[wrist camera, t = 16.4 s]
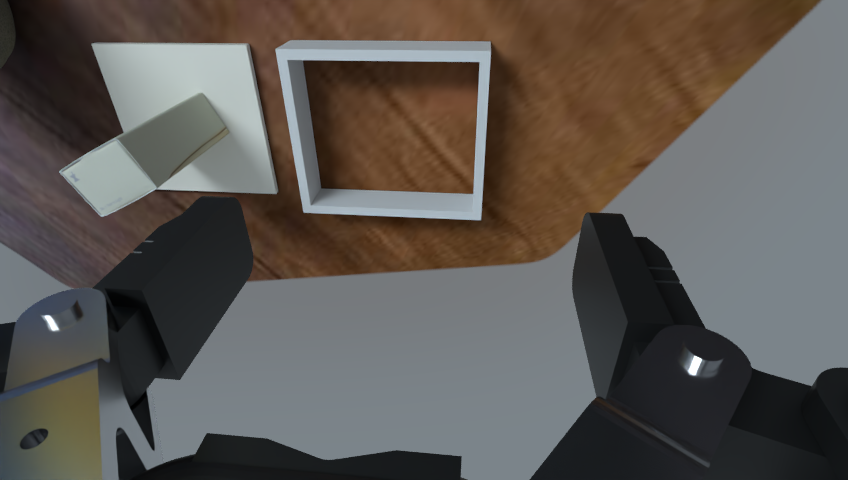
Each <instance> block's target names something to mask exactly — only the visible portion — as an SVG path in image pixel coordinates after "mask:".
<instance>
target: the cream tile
mask: <svg viewBox="0 0 848 480" xmlns="http://www.w3.org/2000/svg"><path fill="white" fill-rule="evenodd" d="M91 45H92V48H93V50H94V53H95V56H96V58H97V61H98V64H99V67H100V69H101V72H102V75H103V78H104V80H105V83H106V86H107V88H108V91H109V94H110V97H111V99H112V102H113V105H114V108H115V110H116V113H117V116H118V118H119V121H120V124H121V127H122V129H123V132H124V133H125V132H127V131H128V130H130V129H132V128H134V127H136V126H138V125H140V124H142V123H143V122H145V121H147V120H149V119H151V118H153V117H154V116H156V115H158V114H160V113H162V112H164V111H166V110H167V109H169V108H171V107H173V106H175V105H177V104H179V103H181V102H183V101H184V100H186V99H188V98H190V97H192V96H194V95H195V94H197V93H202V94H203V95H204V96H205V98H206V99H207V100H208V102H209V103H210V105H211V106H212V107H213V109H214V110H215V112H216V113H217V115H218V116H219V117H220V119H221V120H222V122H223V123H224V125H225V126H226V128H227V129H228V130H229V134H227V135H226V136H225V137H224V138H222V139H221V140H220V141H219V142H217V143H216V144H215V145H213V146H212V147H211V148H210V149H208V150H207V151H206V152H204V153H203V154H202V155H200V156H199V157H198V158H196V159H195V160H194V161H192V162H191V163H190V164H189V165H187V166H186V167H185V168H183V169H182V170H181V171H179V172H178V173H177V174H175V175H174V176H173V177H171V178H170V179H169V180H167V181H166V182H165V183H163V184H162V185H161V186H160V187H158V188H157V189H161V190H186V191H212V192H237V193H262V194H277V192H278V187H277V182H276V177H275V172H274V167H273V162H272V157H271V152H270V146H269V141H268V136H267V131H266V126H265V121H264V116H263V111H262V106H261V101H260V96H259V91H258V86H257V81H256V76H255V71H254V66H253V61H252V56H251V51H250V46H249V44H232V43H102V42H96V43H92V44H91Z"/></svg>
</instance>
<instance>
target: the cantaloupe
mask: <svg viewBox="0 0 848 480" xmlns="http://www.w3.org/2000/svg"><path fill="white" fill-rule="evenodd" d="M15 38H16V32H15V25H14V19H13V15H12V12H11V9H10V6H9V3H8V1H7V0H0V69H1V68H2V67H3V65H4V64H5V63H6V61H7V59H8V57H9V56H10V55H11V53H12V51H13V49H14V46H15Z"/></svg>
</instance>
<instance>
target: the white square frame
mask: <svg viewBox="0 0 848 480" xmlns="http://www.w3.org/2000/svg"><path fill="white" fill-rule="evenodd" d="M276 55H277V61H278V67H279V73H280V79H281V84H282V90H283V96H284V102H285V108H286V113H287V119H288V125H289V131H290V137H291V142H292V148H293V154H294V160H295V166H296V172H297V177H298V183H299V189H300V195H301V201H302V206H303V212H304V213H323V214H346V215H369V216H393V217H416V218H439V219H462V220H481V213H482V196H483V179H484V162H485V145H486V127H487V110H488V93H489V76H490V59H491V42H484V41H340V40H290V41H288V42H287V43H285V44H283V45H282V46H280V47H278V48H276ZM303 60H337V61H427V62H480V64H479V86H478V107H477V128H476V150H475V171H474V192H473V194H454V193H428V192H402V191H375V190H349V189H322V188H321V183H320V176H319V169H318V162H317V155H316V148H315V141H314V134H313V127H312V120H311V113H310V106H309V99H308V93H307V86H306V79H305V72H304V65H303Z"/></svg>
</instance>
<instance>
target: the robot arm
mask: <svg viewBox="0 0 848 480" xmlns="http://www.w3.org/2000/svg"><path fill="white" fill-rule="evenodd" d="M133 251H134V252H133V253H130V254H129V255H128V256H127V257H126V258H125V259H124V260H122V261H121V262H120V263H119V264H118V265H117V266H116V267H115V268H114V269H113V270H112V271H111V272H109V273H108V274H107V275H106V276H105V277H104V278H103V279H102V280H101V281H100V282H99V283H97V284H96V285H95V286H94V287H93V288H76V289H70V290H66V291H62V292H59V293H56V294H53V295H51V296H48V297H46V298H44V299H42V300H40V301H39V302H37V303H35V304H34V305H32V306H31V307H29V308H28V309H27V310H26V311H25V312H23V313H22V314H21V316H20V317H19V318H18V320H17V321H16V322H12V323H5V324H0V480H467V479H464V478H461V477H460V476H461V456H452V455H440V454H430V453H419V452H408V451H397V450H396V451H389V452H383V453H376V454H369V455H362V456H356V457H349V458H343V459H335V460H323V459H320V458H317V457H314V456H312V455H309V454H306V453H303V452H301V451H298V450H296V449H293V448H290V447H288V446H285V445H282V444H280V443H277V442H274V441H272V440H269V439H265V438H254V437H243V436H232V435H221V434H210V433H207V434H206V436H205V438H204V439H203V441H202V443H201V445H200V447H199V448H198V450H197V452H196V454H194V455H189V456H185V457H181V458H178V459H174V460H171V461H169V462H166V463H164V462H163V457H162V450H161V443H160V437H159V431H158V425H157V418H156V413H155V406H154V399H153V396H152V393H151V391H150V389H149V385H150V384H151V383H152V381H153V380H154V379H155V378H164V379H175V380H180V379H181V377H182V376H183V374H184V373H185V371H186V370H187V369H188V367H189V366H190V364H191V363H192V361H193V359H194V358H195V357H196V355H197V354H198V352H199V351H200V349H201V347H202V346H203V345H204V343H205V342H206V340H207V339H208V337H209V336H210V334H211V333H212V331H213V330H214V329H215V327H216V325H217V324H218V323H219V321H220V320H221V318H222V317H223V315H224V314H225V312H226V311H227V309H228V308H229V306H230V305H231V303H232V302H233V300H234V299H235V297H236V296H237V294H238V293H239V291H240V290H241V289H242V287H243V286H244V284H245V283H246V281H247V280H248V278H249V276H250V274H251V271H252V267H253V252H252V248H251V244H250V240H249V236H248V232H247V228H246V224H245V220H244V216H243V212H242V208H241V205H240V203H239V201H238V200H237V199H236V198H234V197H213V196H202V197H200V198H199V199H197V200H196V201H195V202H194V203H193V204H192V205H191V206H190V207H189V208H188V209H187V210H186V211H185V212H184V213H183V214H182V215H180V216H178V217H176V218H174V219H172V220H171V221H169V222H167V223H165V224H163V225H161V226H159V227H158V228H157V229H156V230H155V231H154V232H153V233H152V234H151V235H150V236H149V237H147V238H146V239H145V242H142V243H141V244H140V245H139V246H138V247H137V248H135V249H134V250H133ZM572 279H573V281H572V290H573V298H574V302H575V306H576V311H577V315H578V319H579V323H580V328H581V332H582V336H583V341H584V345H585V349H586V353H587V358H588V362H589V366H590V371H591V375H592V379H593V383H594V388H595V392H596V398H595V399H594V400H593V401H592V402H591V403H590V404H589V405H588V407H587V408H586V409H585V410H584V412H583V413H582V414H581V415H580V417H579V418H578V419H577V420H576V422H575V423H574V424H573V426H572V427H571V428H570V429H569V431H568V432H567V433H566V435H565V436H564V437H563V438H562V440H561V441H560V442H559V443H558V445H557V446H556V447H555V448H554V450H553V451H552V452H551V453H550V455H549V456H548V457H547V459H546V460H545V461H544V462H543V464H542V465H541V466H540V467H539V469H538V470H537V471H536V472H535V474H534V475H533V476H532V477H531V479H530V480H848V368H832V369H828V370H826V371H824V372H822V373H821V374H820V375H819V376H818V377H817V379H816V381H815V382H814V384H813V386H809V385H805V384H802V383H798V382H795V381H791V380H788V379H784V378H781V377H777V376H774V375H770V374H767V373H764V372H761V371H758V370H756V369H753V368H752V367H751V363H750V361H749V359H748V358H747V356H746V355H745V354H744V352H743V351H742V350H741V349H740V348H739V347H738V346H737V345H735V344H734V343H733V342H732V341H730V340H729V339H727V338H725V337H724V336H722V335H720V334H718V333H716V332H713V331H711V330H708V329H706V328H705V326H704V324H703V323H702V321H701V319H700V317H699V315H698V313H697V311H696V310H695V308H694V306H693V304H692V302H691V300H690V299H689V297H688V295H687V293H686V291H685V289H684V287H683V286H682V284H680V283H679V281H680V280H679V279H678V276H677V275H676V273H675V271H674V270H672V265H671V264H670V262H669V260H668V258H667V256H666V254H665V253H664V251H663V250H662V249H660V248H659V247H658V246H657V245H655V244H654V243H653V242H652V241H650V240H649V239H648V238H647V237H633V235H632V233H631V230H630V228H629V226H628V224H627V222H626V220H625V218H624V216H623V215H622V214H613V213H589V212H587V213H586V214H585V216H584V218H583V222H582V227H581V233H580V238H579V243H578V248H577V253H576V259H575V264H574V269H573V278H572Z"/></svg>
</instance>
